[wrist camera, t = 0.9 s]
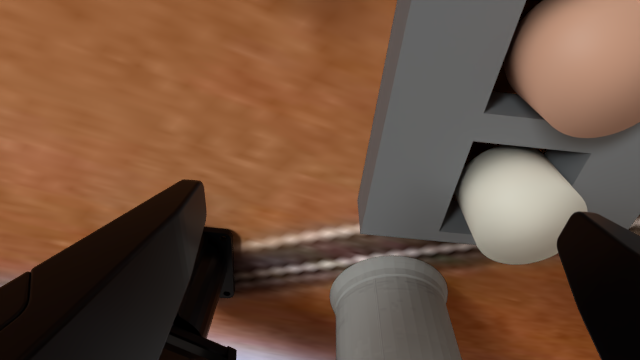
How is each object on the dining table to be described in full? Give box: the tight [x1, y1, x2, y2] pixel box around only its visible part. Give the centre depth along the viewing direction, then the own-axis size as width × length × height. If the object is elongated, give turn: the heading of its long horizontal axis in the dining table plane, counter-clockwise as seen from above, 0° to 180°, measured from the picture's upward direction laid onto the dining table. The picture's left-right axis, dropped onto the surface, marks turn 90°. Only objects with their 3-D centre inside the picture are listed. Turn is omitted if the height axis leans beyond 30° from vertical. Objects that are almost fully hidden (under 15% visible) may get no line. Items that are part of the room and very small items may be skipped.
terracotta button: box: [504, 0, 640, 138], centre depth 14 cm, size 5×5×3 cm
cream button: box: [455, 145, 588, 265], centre depth 18 cm, size 5×5×3 cm
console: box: [358, 0, 640, 245], centre depth 16 cm, size 21×14×3 cm, turn 174°
